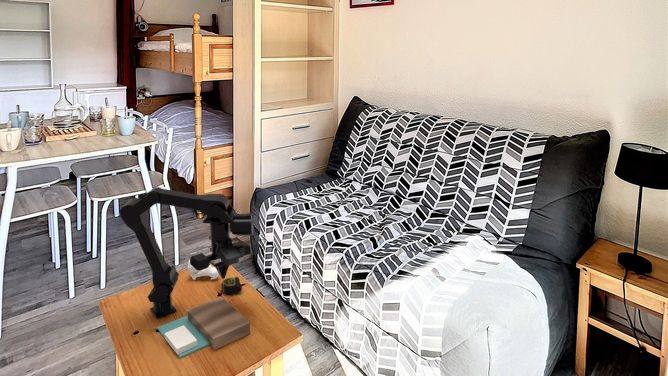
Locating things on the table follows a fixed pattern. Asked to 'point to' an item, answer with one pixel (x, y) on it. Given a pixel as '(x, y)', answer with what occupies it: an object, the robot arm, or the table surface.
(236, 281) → the tape measure
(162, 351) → the table surface
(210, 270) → the white rounded lumpy piece
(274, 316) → the table surface
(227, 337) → the brown flat block
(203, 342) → the mat
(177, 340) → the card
